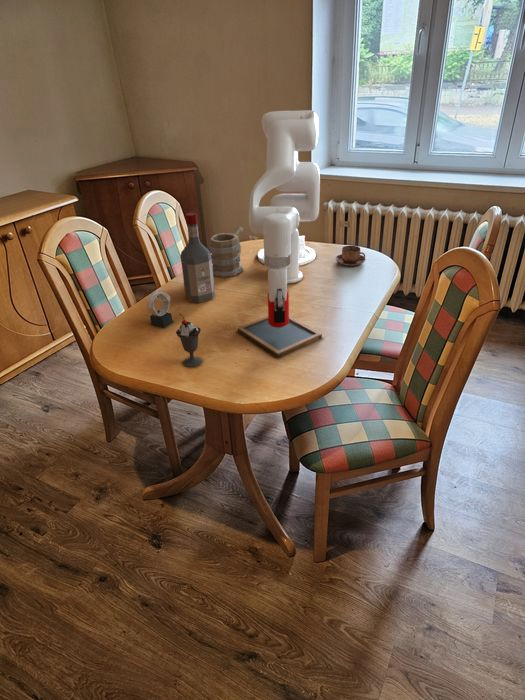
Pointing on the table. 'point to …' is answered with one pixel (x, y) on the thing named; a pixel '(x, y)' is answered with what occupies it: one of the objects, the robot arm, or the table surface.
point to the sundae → (189, 341)
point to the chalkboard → (279, 336)
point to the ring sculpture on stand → (159, 316)
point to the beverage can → (271, 313)
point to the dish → (304, 253)
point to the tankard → (226, 254)
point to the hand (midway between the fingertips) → (278, 316)
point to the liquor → (196, 265)
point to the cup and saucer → (351, 256)
